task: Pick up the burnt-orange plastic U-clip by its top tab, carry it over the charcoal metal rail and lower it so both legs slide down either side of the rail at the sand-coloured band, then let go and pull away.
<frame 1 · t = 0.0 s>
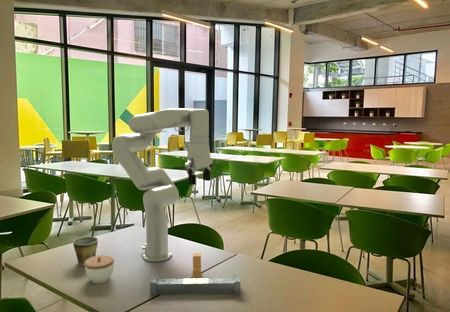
hand: (199, 182, 148), 37 cm above the table, tool pointing down, fingers open, 9 cm apart
lidded jar: (100, 280, 143), on the table
clip: (197, 277, 144), on the table
rail: (195, 291, 134), on the table
ceramic cup: (86, 262, 160), on the table
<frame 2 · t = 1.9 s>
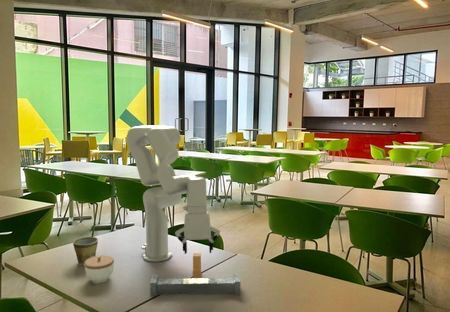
hand: (198, 252, 143), 11 cm above the table, tool pointing down, fingers open, 9 cm apart
nothing on the table moved.
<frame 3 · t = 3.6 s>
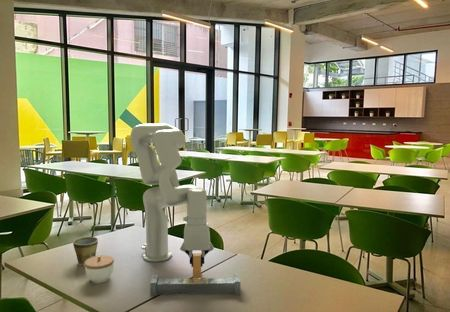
hand: (197, 265, 144), 5 cm above the table, tool pointing down, fingers closed on clip, 3 cm apart
clip: (197, 277, 144), on the table, touching gripper
everything else where it was.
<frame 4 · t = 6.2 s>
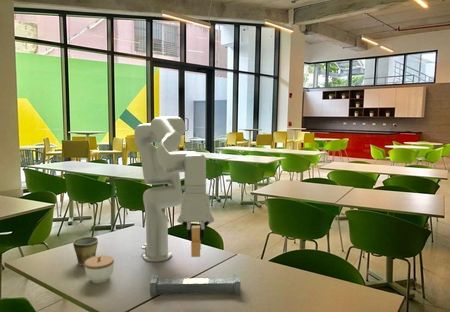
hand: (196, 238, 131), 20 cm above the table, tool pointing down, fingers closed on clip, 3 cm apart
clip: (196, 252, 132), point 15 cm above the table, touching gripper
everything else where it was.
when the fingers open (6 cm above the table, at t = 8.7 s): clip stays where it is, resting on rail.
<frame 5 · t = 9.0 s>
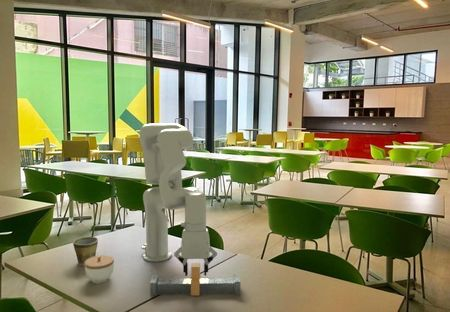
hand: (195, 273, 133), 7 cm above the table, tool pointing down, fingers open, 6 cm apart
clip: (195, 289, 134), point 1 cm above the table, touching rail
everything else where it was.
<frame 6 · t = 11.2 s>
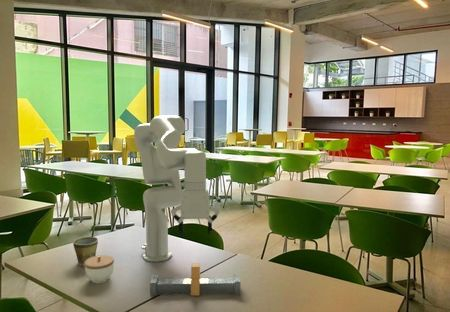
hand: (195, 232, 131), 22 cm above the table, tool pointing down, fingers open, 9 cm apart
nothing on the table moved.
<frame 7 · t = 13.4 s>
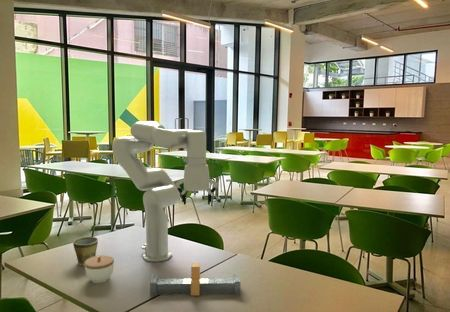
hand: (196, 203, 147), 28 cm above the table, tool pointing down, fingers open, 9 cm apart
nothing on the table moved.
at the end: clip inside the target area on the rail (0.1 cm from its centre), point 0.5 cm above the rail's base; clip tilted 0°; the gripper is holding nothing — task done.
